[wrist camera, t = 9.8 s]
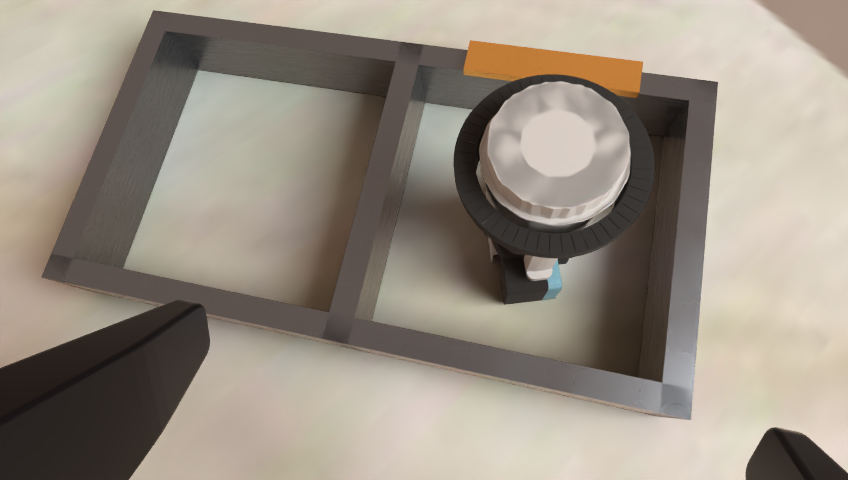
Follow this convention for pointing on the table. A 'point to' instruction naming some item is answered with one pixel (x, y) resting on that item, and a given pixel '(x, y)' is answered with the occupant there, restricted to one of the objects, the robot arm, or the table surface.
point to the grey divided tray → (395, 193)
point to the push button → (551, 176)
